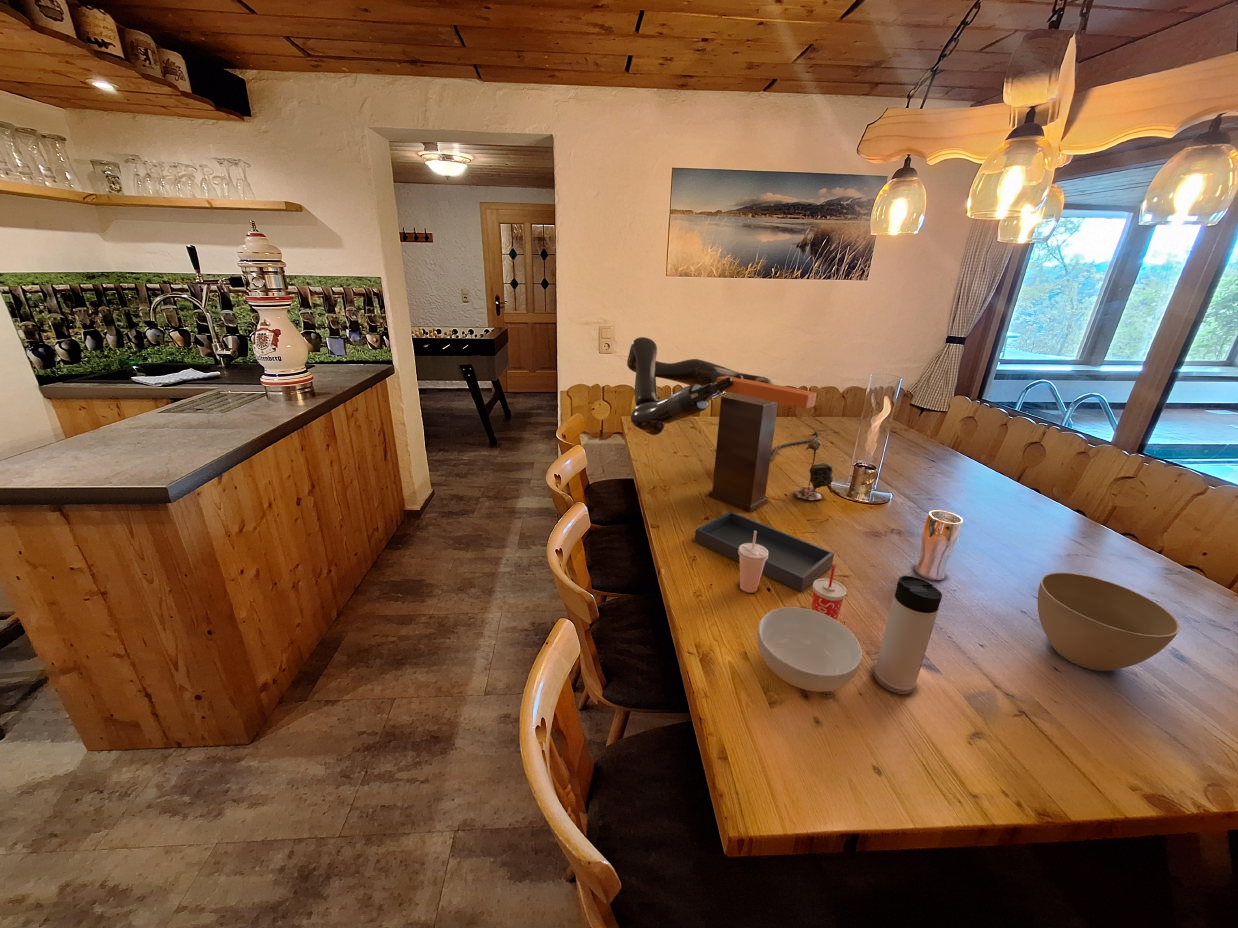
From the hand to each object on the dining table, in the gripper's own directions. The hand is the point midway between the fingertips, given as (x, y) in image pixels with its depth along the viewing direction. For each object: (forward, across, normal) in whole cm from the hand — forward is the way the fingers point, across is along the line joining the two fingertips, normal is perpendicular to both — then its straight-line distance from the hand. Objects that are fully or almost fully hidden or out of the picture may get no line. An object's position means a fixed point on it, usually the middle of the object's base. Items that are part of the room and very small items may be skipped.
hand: (736, 379), depth 120 cm
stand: (-27, +20, +32) cm, 46 cm away
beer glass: (+19, +19, +59) cm, 65 cm away
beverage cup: (+12, -18, +55) cm, 59 cm away
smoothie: (-3, -18, +46) cm, 50 cm away
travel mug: (+25, -23, +62) cm, 71 cm away
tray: (-8, -3, +43) cm, 44 cm away
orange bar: (+5, 0, +6) cm, 8 cm away
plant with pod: (-15, +39, +39) cm, 57 cm away
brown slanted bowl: (+44, +10, +73) cm, 86 cm away
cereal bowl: (+15, -32, +56) cm, 66 cm away
